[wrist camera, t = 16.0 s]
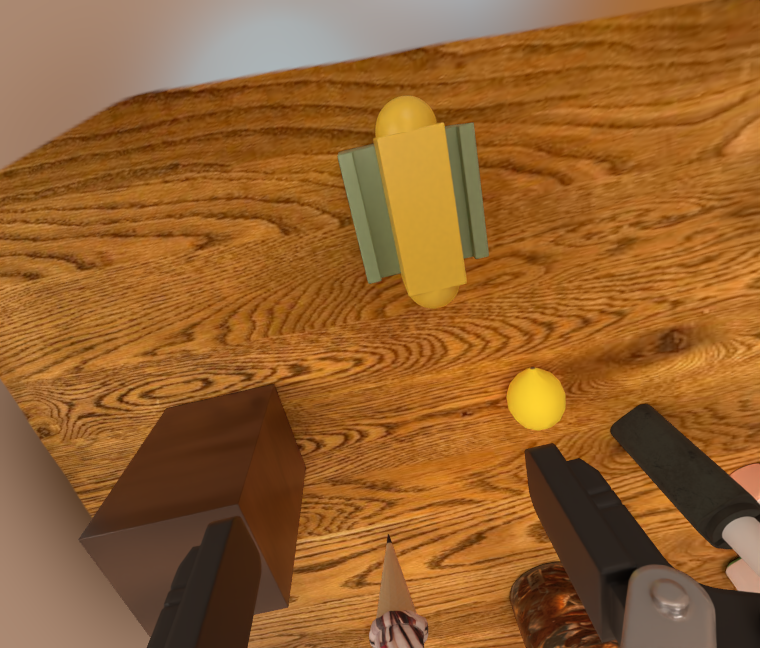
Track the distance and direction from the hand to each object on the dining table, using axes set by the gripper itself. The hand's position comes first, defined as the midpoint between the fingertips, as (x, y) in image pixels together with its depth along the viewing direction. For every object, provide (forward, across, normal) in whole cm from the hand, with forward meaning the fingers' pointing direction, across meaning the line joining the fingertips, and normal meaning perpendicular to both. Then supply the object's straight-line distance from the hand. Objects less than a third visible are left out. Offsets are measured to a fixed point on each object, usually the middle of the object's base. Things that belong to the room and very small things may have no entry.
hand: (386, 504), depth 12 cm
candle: (+28, -25, +26) cm, 46 cm away
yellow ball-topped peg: (+22, -5, -4) cm, 22 cm away
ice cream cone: (+28, +5, +34) cm, 44 cm away
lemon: (+28, -13, +17) cm, 35 cm away
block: (+28, -5, -4) cm, 28 cm away
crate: (+28, +17, +16) cm, 36 cm away
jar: (+28, -14, +51) cm, 60 cm away
